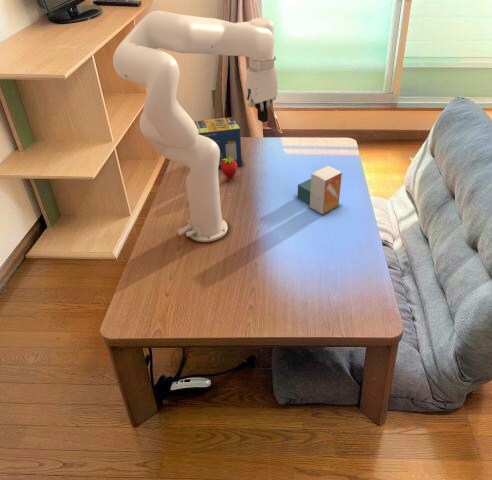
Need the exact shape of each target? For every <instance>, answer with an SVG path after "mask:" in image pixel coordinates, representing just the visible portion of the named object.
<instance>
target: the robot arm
mask: <svg viewBox="0 0 492 480" xmlns="http://www.w3.org/2000/svg"><path fill="white" fill-rule="evenodd" d="M160 49H161V50H160ZM163 50H165V51H163ZM166 51H171V52H173V53H178V54H191V55H192V54H194V55H195V54H197V55H199V54H201V55H217V56H230V57H231V56H235V57H247V58H248V66H249V67H248V68H247V69H246V73H245V82H244V98H245V100H246V101H248V102H247V105H248V107H250V108H254V109H256V110H257V111H256V112H257V113H256V114H257V120H258V121H259V122H262V124H263V123H266V122H268V121H269V109H270V106H271V104H272V103H273V102H274V101H275V100H277V96H278V91H279V88H278V85H279V84H278V83H279V82H278V74H277V69H276V65H275V61H276V60H277V57H276V56H275V24H274V22H273V20H272V19H270V18H266V17H265V18H264V17H255V18H252V19H250V20H248V21H240V22H231V21H228V20H224V19H218V18H213V17H206V16H205V17H203V16H196V15H195V16H194V15H187V14H179V13H173V12H169V11H164V10H153V11H151V12H149V13H147V14H146V15H144V17H142V18H141V20H140V21H138V23H136V25H135V26H134V27H133V28H132V29H131V30H130V32H129V33H128V34H127V35H126V36H125V37H124V39H123V40H122V41H121V42H120V43H119V45H118V46H117V47H116V49H115V50H114V52H113V53H114V54H113V56H112V65H113V68H114V71H115V73H116V74H117V75H118V76H119V78H121V79H123V80H125V81H128V82H129V83H134V84H137V85H138V84H139V85H141V86H145V87H147V90H146V95H145V99H144V103H143V109H142V110H143V111H142V113H141V114H140V117H139V129H140V132H141V134H142V136H143V137H144V139H145V140H146V141H147V142H148V143H149V144H150V145H151V146H152V147H153V148H154V149H155V150H156V151H157V152H158V153H159V154H160V155H161V156H163V157H164V158H165V159H167V160H169V161H171V162H174V163H176V164H179V165H181V166H183V167H186V168H188V169H189V173H188V175H187V176H186V177H185V190H186V196H187V204H188V213H189V218H190V219H188V220H187V224H185V226H184V227H180V228H178V229H177V230H176V232H177V234H178V236H182V235H184V234H185V236H186V237H187V238H190V239H192V240H193V241H196V242H202V243H209V242H213V241H214V242H215V241H217V240H220V239H222V238H223V237H225V236H226V234H227V232H228V230H229V229H228V223H227V221H226V220H225V219H223V217H222V204H221V194H220V181H219V169H218V166H219V159H220V149H219V147H218V145H217V144H216V143H215V142H214V141H213V140H212V139H210V138H208V137H205V136H202V135H199V134H198V129H197V126H196V125H195V123H194V121H195V120H193V119H192V118H191V116H190V115H189V114H188V112H187V111H186V110H185V109H184V108H183V106H182V105H181V104H180V102H179V101H178V99H177V92H178V85H179V81H180V67H179V64H178V62H177V60H176V58H174V57H173V55H171V54H170V53H168V52H166Z"/></svg>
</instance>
